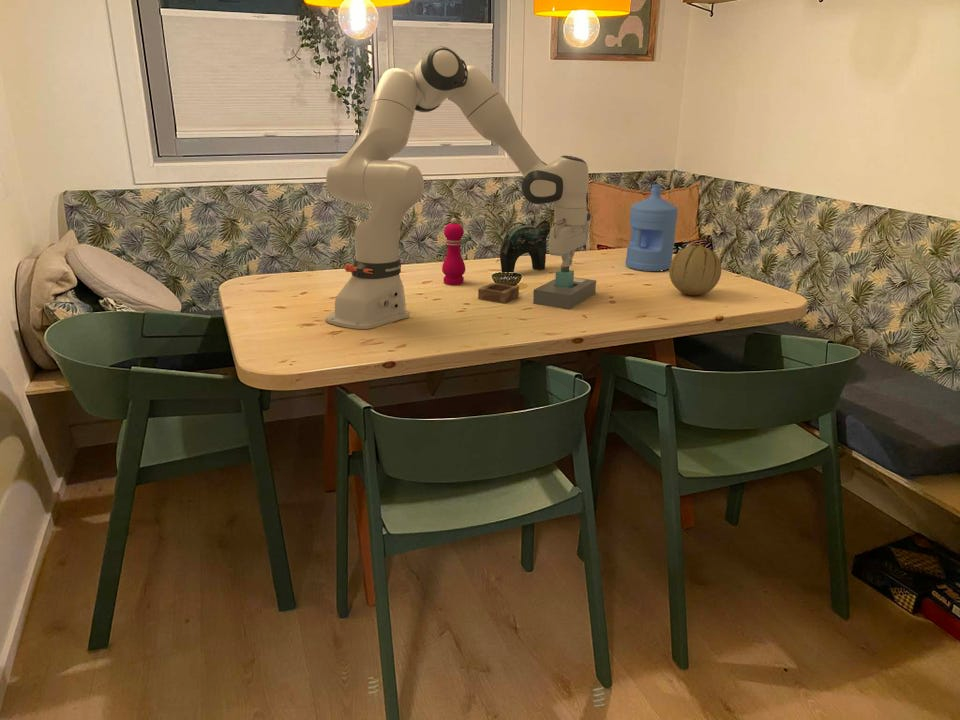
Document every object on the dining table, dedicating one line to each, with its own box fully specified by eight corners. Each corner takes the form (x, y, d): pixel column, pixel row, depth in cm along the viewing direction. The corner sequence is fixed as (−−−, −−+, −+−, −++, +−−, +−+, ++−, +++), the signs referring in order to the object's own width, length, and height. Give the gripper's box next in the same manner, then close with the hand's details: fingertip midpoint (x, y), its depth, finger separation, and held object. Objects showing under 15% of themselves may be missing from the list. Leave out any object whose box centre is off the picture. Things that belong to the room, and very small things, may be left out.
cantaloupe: (673, 300, 199) (679, 248, 194) (662, 287, 213) (667, 239, 208) (724, 301, 199) (732, 250, 194) (710, 288, 213) (716, 240, 208)
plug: (566, 300, 197) (569, 268, 194) (554, 298, 199) (556, 266, 196) (572, 297, 200) (574, 265, 197) (559, 295, 202) (561, 263, 199)
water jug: (646, 260, 250) (654, 181, 240) (680, 269, 238) (690, 186, 228) (615, 265, 242) (622, 183, 232) (649, 274, 230) (658, 188, 220)
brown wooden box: (504, 303, 193) (505, 293, 192) (478, 299, 197) (478, 288, 196) (518, 296, 200) (518, 286, 199) (492, 292, 204) (492, 282, 203)
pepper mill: (466, 280, 218) (467, 216, 211) (463, 286, 211) (464, 220, 204) (443, 279, 218) (443, 215, 211) (440, 285, 211) (440, 219, 204)
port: (569, 309, 189) (570, 294, 187) (533, 303, 194) (533, 288, 192) (595, 293, 205) (596, 279, 204) (561, 288, 210) (561, 274, 209)
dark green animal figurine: (539, 266, 239) (541, 207, 232) (552, 269, 234) (555, 210, 227) (496, 274, 227) (497, 212, 220) (509, 278, 222) (511, 215, 215)
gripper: (566, 223, 182) (563, 274, 186) (593, 213, 198) (590, 260, 203) (544, 220, 184) (541, 271, 189) (573, 211, 201) (570, 258, 206)
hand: (567, 266), depth 196 cm, fingers closed, pressing on plug
